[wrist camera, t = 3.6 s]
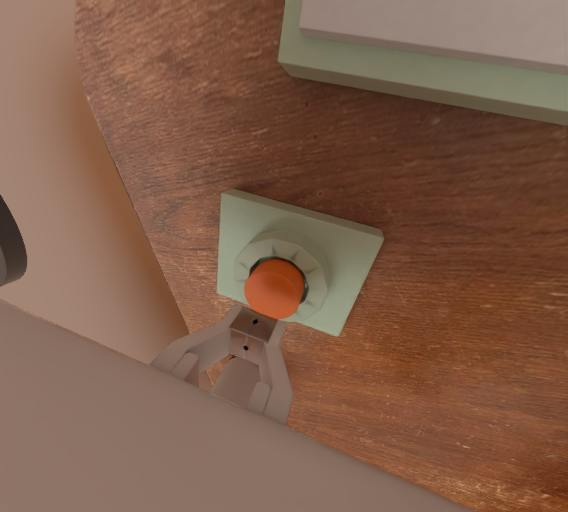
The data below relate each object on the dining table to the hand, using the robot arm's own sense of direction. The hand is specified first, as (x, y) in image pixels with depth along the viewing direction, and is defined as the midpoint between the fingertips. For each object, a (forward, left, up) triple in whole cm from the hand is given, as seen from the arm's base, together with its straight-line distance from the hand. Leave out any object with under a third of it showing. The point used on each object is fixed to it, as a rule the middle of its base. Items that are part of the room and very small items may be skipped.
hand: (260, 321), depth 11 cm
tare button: (0, 0, -4) cm, 4 cm away
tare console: (0, 0, -7) cm, 7 cm away
